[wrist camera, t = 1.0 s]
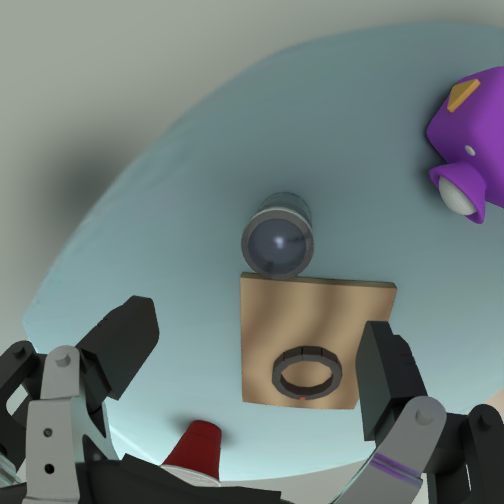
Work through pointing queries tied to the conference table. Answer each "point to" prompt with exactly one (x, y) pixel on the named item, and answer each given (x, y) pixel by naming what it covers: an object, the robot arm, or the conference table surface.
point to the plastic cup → (197, 455)
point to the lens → (279, 237)
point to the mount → (306, 338)
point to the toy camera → (471, 144)
